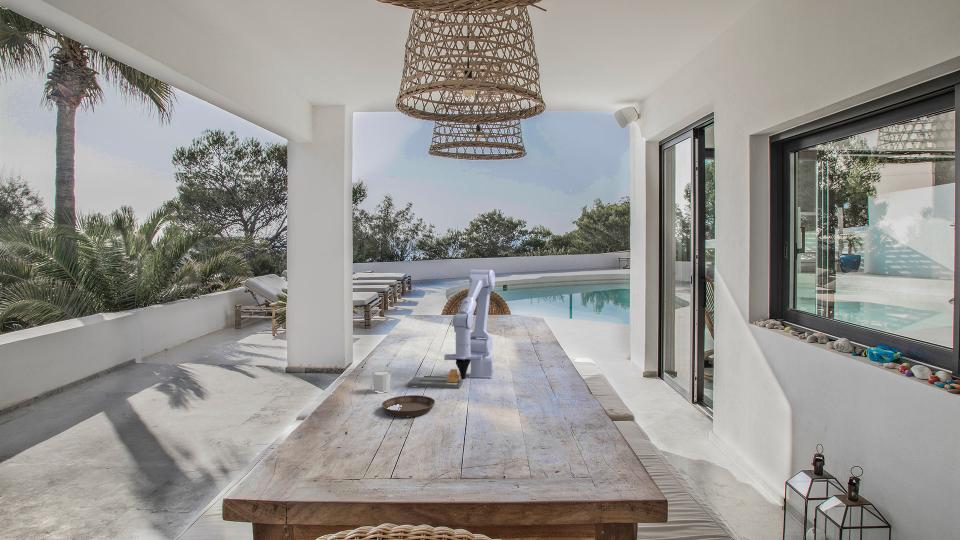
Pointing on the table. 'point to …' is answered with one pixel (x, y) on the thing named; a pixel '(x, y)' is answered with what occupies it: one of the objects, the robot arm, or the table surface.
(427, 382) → the breaker panel
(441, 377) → the cord bundle
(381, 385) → the shot glass
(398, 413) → the plant saucer
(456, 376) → the breaker toggle
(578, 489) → the table surface
